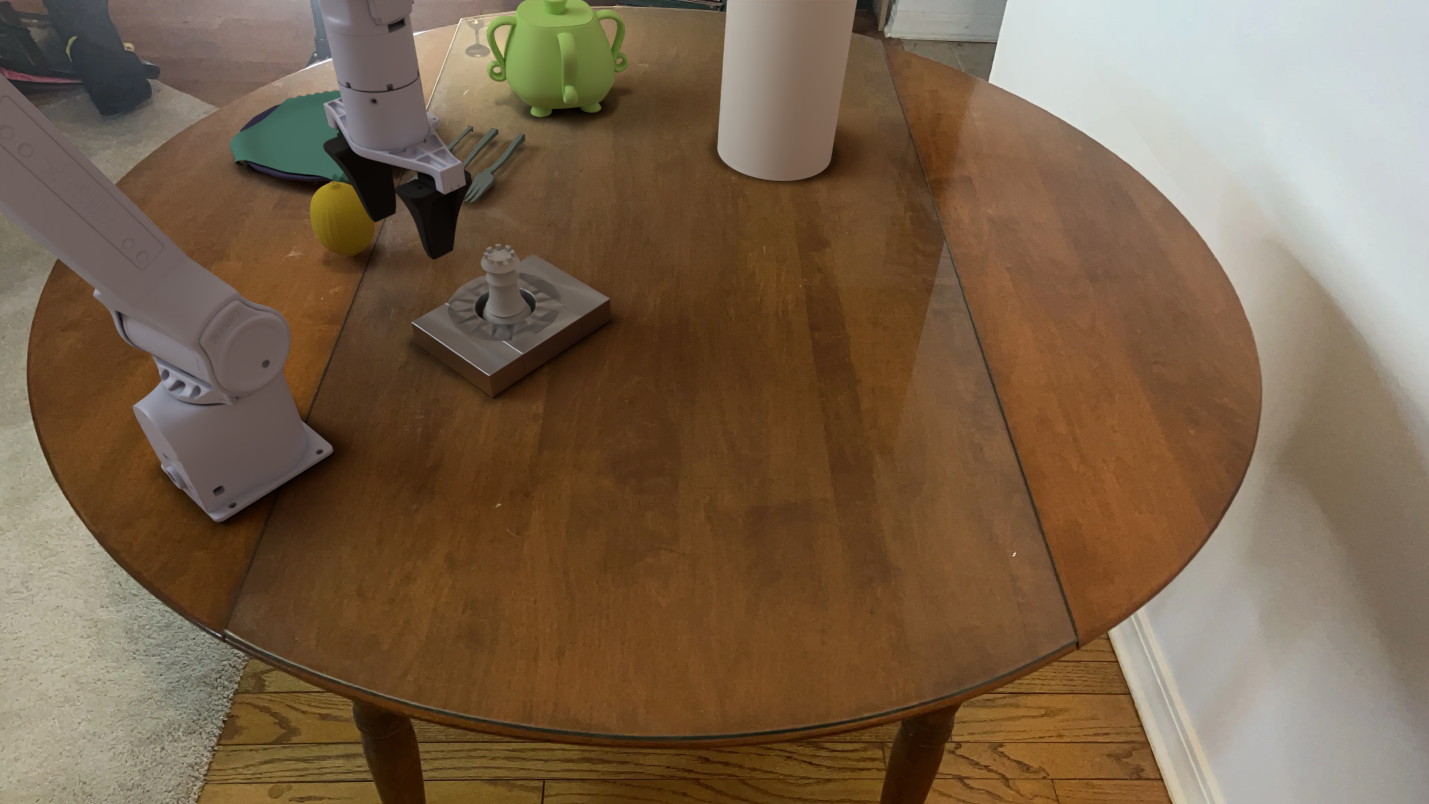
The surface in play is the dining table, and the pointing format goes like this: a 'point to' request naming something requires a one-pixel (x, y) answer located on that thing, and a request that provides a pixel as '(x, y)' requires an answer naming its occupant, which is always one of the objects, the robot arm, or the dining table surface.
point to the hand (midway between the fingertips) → (411, 234)
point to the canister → (782, 85)
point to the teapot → (558, 54)
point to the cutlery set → (299, 130)
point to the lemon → (340, 219)
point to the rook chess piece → (503, 287)
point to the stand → (511, 326)
